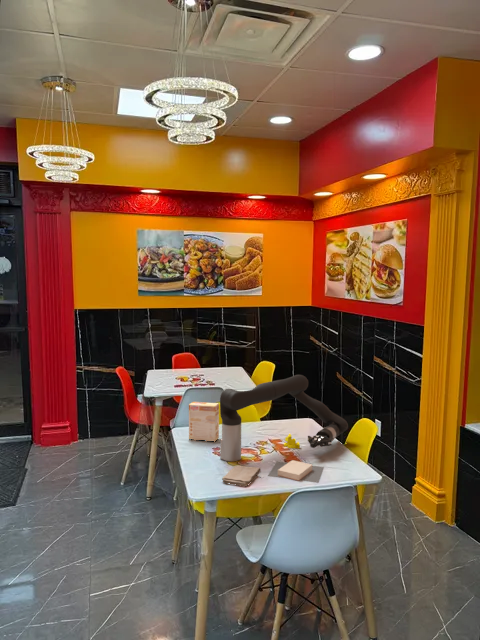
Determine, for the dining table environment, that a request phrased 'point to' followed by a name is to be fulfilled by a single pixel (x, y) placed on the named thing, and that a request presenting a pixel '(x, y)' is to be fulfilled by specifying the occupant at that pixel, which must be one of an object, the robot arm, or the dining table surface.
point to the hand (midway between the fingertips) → (312, 445)
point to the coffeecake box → (204, 421)
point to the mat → (311, 477)
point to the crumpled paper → (291, 442)
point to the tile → (295, 470)
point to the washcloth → (241, 475)
